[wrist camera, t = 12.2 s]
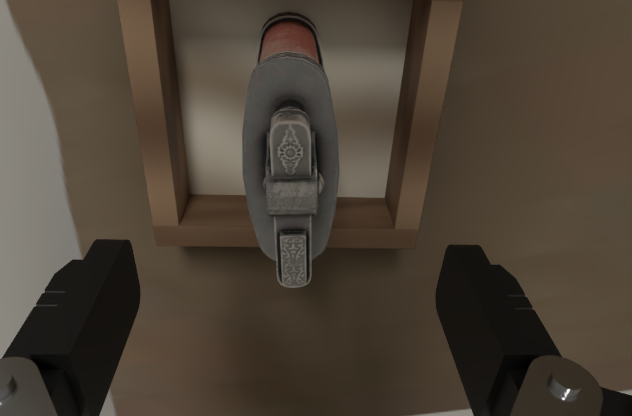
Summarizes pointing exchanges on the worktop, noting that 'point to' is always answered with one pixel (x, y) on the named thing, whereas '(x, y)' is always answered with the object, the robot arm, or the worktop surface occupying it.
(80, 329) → the robot arm
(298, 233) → the lighter
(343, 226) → the walnut holder
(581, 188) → the worktop surface
